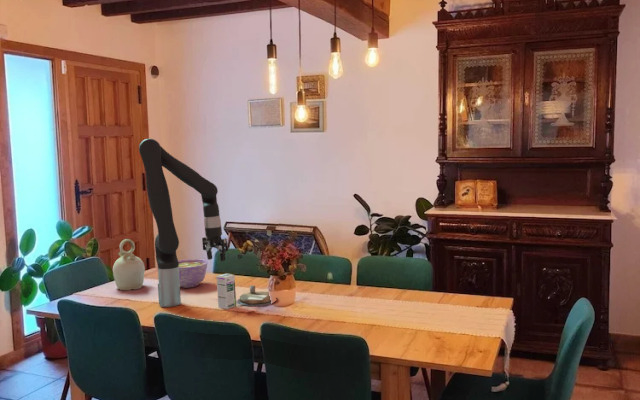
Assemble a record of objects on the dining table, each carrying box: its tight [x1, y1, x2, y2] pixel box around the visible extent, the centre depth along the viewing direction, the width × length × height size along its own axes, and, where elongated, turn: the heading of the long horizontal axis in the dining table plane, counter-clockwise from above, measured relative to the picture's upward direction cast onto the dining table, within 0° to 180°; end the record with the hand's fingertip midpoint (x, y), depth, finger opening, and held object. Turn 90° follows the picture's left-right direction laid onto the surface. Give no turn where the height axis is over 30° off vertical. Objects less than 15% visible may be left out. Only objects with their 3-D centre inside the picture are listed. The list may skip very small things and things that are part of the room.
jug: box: [112, 238, 146, 291], centre depth 305 cm, size 15×16×25 cm
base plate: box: [237, 298, 272, 307], centre depth 274 cm, size 19×18×1 cm
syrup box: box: [216, 273, 237, 310], centre depth 266 cm, size 6×6×14 cm
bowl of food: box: [178, 258, 208, 288], centre depth 306 cm, size 20×20×12 cm
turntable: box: [239, 284, 271, 304], centre depth 274 cm, size 16×16×5 cm
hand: (216, 260), depth 278 cm, fingers open, 8 cm apart
